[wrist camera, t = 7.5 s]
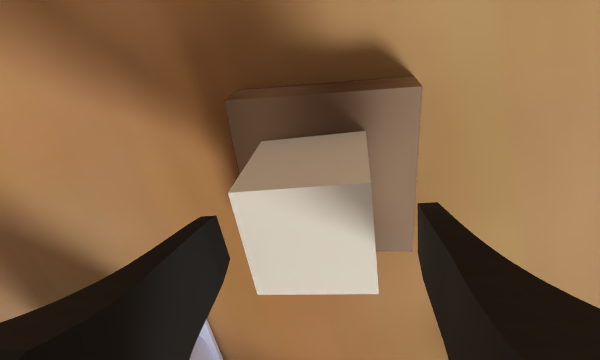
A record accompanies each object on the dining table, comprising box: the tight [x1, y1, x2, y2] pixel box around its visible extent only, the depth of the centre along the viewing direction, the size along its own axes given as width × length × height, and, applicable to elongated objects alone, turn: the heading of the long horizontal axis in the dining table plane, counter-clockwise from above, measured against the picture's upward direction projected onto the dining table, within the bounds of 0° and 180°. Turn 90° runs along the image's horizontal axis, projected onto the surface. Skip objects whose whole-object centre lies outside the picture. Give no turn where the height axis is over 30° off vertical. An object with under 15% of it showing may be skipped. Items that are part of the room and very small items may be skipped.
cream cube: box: [228, 131, 379, 295], centre depth 13 cm, size 4×4×4 cm
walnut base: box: [224, 76, 422, 252], centre depth 16 cm, size 8×8×2 cm
